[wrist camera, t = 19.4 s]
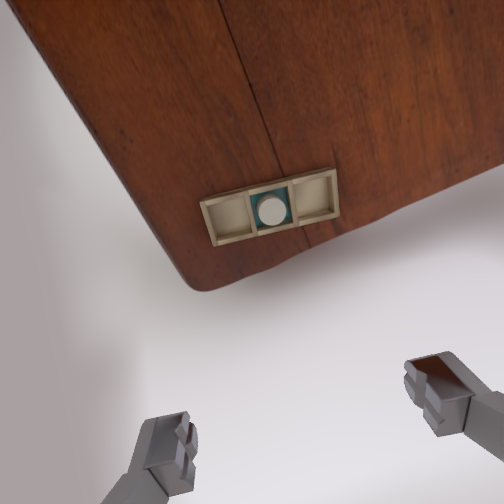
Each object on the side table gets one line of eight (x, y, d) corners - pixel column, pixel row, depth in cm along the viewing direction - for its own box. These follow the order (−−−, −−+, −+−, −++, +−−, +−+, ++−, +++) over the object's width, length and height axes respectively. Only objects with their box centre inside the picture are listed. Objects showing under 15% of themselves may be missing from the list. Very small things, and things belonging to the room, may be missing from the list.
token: (259, 221, 36) (261, 228, 34) (253, 196, 35) (255, 202, 32) (284, 215, 36) (288, 222, 34) (279, 190, 35) (284, 195, 32)
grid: (214, 240, 38) (213, 247, 36) (200, 198, 35) (199, 202, 33) (333, 211, 37) (340, 216, 35) (329, 166, 35) (336, 168, 32)
